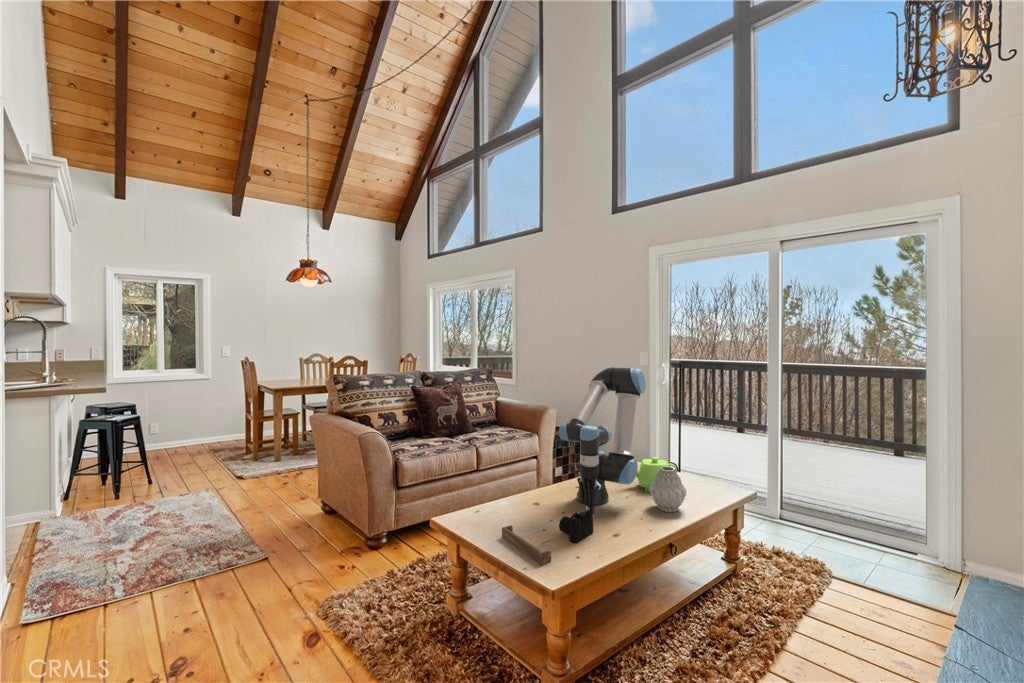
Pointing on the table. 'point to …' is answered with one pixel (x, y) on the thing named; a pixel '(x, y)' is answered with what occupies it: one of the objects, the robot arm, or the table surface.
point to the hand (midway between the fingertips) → (589, 521)
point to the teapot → (650, 471)
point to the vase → (667, 490)
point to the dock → (526, 546)
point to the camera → (577, 526)
